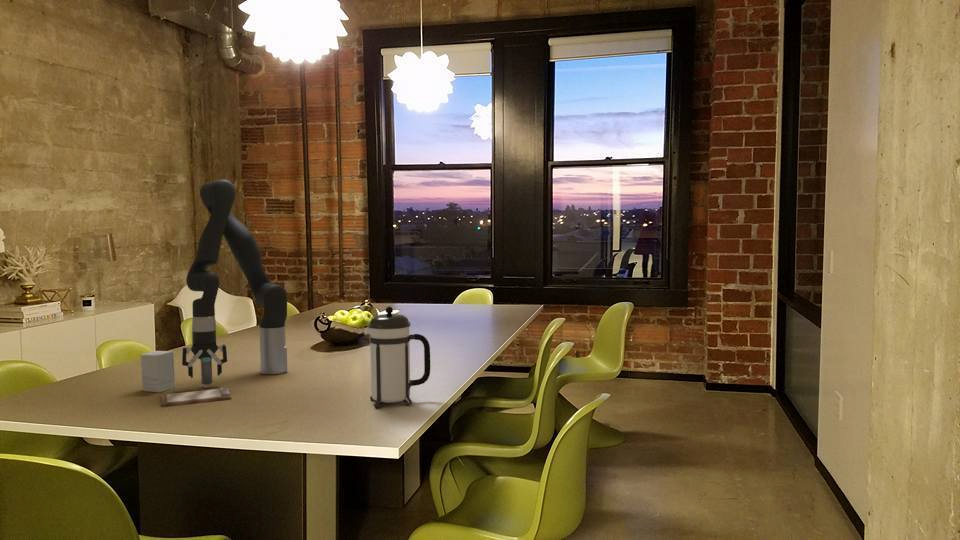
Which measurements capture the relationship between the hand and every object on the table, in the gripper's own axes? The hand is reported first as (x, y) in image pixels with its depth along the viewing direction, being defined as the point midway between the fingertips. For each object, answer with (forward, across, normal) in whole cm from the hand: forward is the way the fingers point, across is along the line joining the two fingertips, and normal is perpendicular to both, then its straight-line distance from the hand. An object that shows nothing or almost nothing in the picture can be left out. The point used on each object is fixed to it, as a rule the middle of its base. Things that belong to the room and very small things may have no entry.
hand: (205, 376), depth 232 cm
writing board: (+4, +3, +15) cm, 16 cm away
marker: (+4, 0, 0) cm, 4 cm away
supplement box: (+4, +14, -4) cm, 16 cm away
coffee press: (+4, -53, +48) cm, 71 cm away
